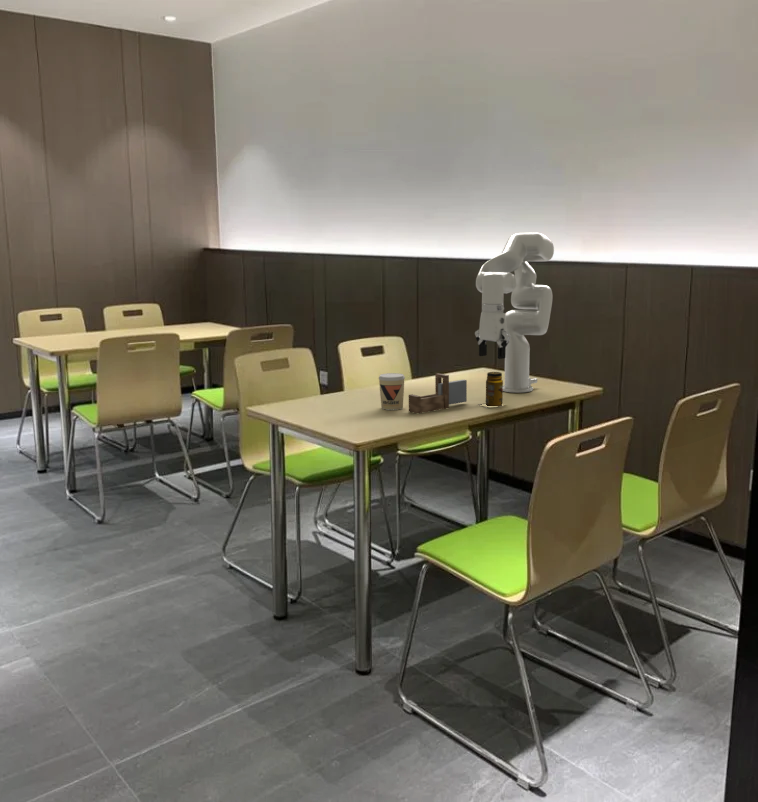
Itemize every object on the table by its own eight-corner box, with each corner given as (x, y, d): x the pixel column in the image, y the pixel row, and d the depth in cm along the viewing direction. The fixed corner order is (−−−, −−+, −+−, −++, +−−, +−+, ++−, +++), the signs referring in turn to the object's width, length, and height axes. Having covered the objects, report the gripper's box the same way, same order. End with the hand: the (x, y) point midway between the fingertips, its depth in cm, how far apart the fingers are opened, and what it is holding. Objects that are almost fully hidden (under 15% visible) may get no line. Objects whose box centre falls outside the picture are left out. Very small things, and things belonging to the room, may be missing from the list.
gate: (463, 400, 289) (463, 379, 288) (466, 401, 288) (466, 380, 287) (438, 405, 283) (438, 383, 281) (441, 406, 281) (440, 384, 280)
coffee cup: (377, 410, 280) (376, 377, 278) (381, 405, 289) (380, 372, 287) (403, 411, 279) (403, 377, 276) (406, 405, 288) (406, 373, 285)
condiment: (507, 405, 284) (508, 372, 281) (489, 409, 279) (490, 375, 277) (494, 402, 290) (494, 370, 287) (476, 405, 285) (476, 372, 283)
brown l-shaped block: (439, 405, 286) (438, 373, 283) (448, 408, 281) (448, 375, 279) (408, 411, 278) (407, 377, 275) (417, 414, 273) (417, 379, 271)
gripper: (517, 309, 272) (516, 358, 276) (483, 307, 286) (483, 353, 290) (501, 310, 268) (501, 360, 271) (468, 308, 282) (467, 355, 285)
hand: (492, 357), depth 280 cm, fingers open, 9 cm apart
